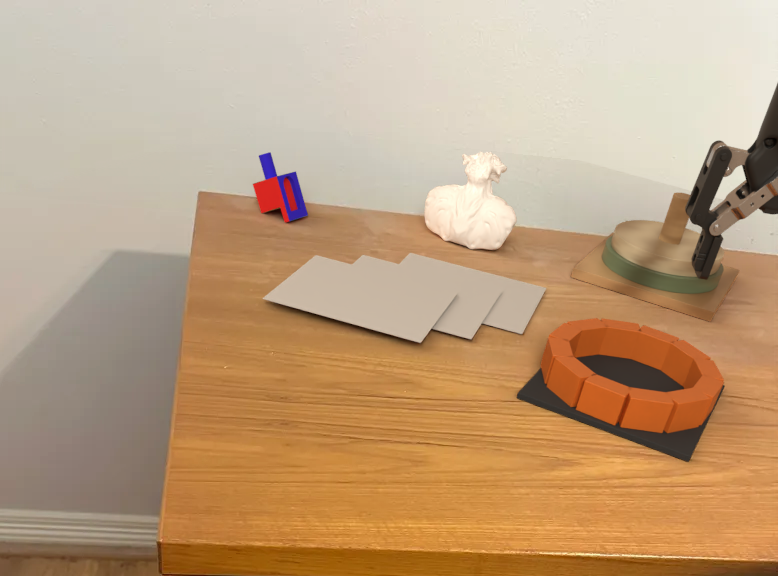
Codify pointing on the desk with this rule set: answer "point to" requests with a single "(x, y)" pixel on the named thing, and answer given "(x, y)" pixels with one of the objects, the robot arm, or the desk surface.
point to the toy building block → (279, 191)
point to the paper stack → (409, 296)
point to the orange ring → (621, 400)
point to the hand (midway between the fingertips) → (749, 283)
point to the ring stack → (658, 264)
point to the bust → (472, 206)
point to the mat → (631, 376)
